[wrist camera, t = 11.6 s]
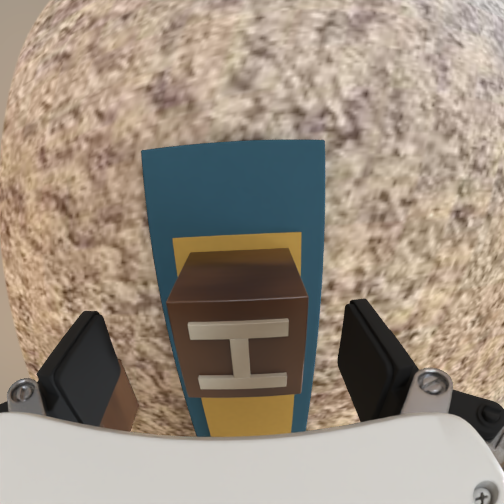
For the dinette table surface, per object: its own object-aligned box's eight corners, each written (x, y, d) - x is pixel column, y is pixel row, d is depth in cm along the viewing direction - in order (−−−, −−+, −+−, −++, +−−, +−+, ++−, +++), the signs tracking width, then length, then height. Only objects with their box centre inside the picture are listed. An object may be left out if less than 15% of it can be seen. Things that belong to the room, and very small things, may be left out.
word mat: (206, 460, 20) (206, 465, 20) (143, 150, 12) (140, 150, 12) (299, 457, 20) (300, 461, 20) (322, 140, 12) (325, 140, 12)
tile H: (201, 333, 15) (187, 401, 10) (189, 251, 13) (163, 305, 9) (287, 329, 15) (302, 397, 10) (289, 247, 13) (310, 299, 9)
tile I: (87, 397, 18) (65, 444, 13) (65, 352, 16) (33, 399, 12) (139, 405, 18) (122, 457, 13) (120, 358, 16) (94, 414, 12)
